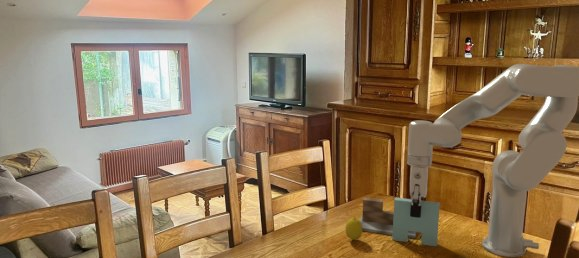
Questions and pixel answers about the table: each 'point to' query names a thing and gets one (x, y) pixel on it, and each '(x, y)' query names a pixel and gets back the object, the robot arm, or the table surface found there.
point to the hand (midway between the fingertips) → (416, 212)
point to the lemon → (353, 228)
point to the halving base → (381, 228)
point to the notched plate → (416, 221)
